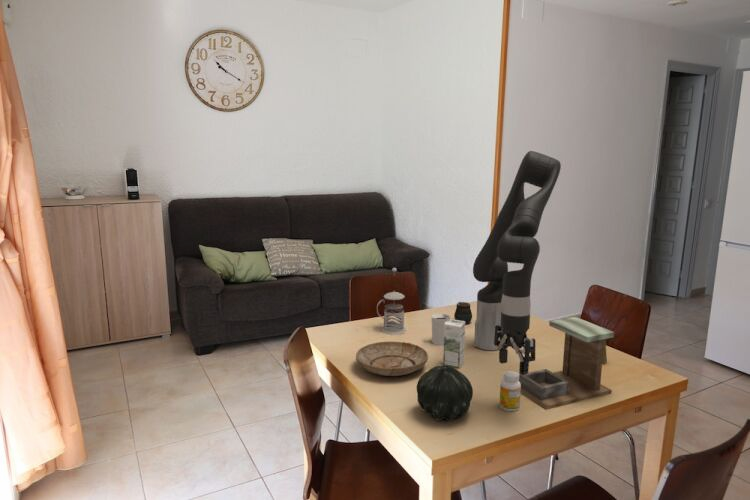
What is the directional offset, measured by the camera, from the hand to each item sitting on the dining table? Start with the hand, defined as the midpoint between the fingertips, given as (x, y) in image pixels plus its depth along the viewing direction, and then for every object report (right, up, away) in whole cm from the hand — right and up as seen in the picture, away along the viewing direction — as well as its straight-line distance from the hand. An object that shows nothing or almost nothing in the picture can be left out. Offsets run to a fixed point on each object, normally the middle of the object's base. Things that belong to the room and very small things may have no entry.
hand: (513, 368), depth 142 cm
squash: (-19, -12, -1) cm, 22 cm away
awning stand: (+18, -9, +13) cm, 24 cm away
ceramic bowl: (-32, -6, +28) cm, 43 cm away
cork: (+37, -5, +33) cm, 50 cm away
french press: (-31, 0, +63) cm, 70 cm away
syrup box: (-11, -6, +31) cm, 33 cm away
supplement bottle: (0, -11, +2) cm, 12 cm away
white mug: (-14, -2, +50) cm, 52 cm away
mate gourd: (-2, +2, +71) cm, 72 cm away
